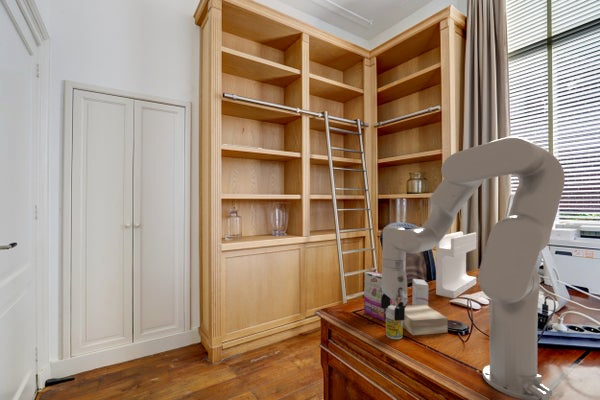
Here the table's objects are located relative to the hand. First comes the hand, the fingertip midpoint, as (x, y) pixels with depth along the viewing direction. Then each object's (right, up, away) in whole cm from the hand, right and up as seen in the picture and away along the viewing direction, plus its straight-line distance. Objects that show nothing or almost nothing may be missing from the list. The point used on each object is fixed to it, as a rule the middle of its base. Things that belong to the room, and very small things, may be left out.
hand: (392, 313), depth 97 cm
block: (+50, -8, +52) cm, 72 cm away
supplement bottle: (0, -8, -1) cm, 8 cm away
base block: (+12, -7, +7) cm, 16 cm away
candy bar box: (0, -8, +16) cm, 18 cm away
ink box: (+19, -8, +23) cm, 31 cm away
